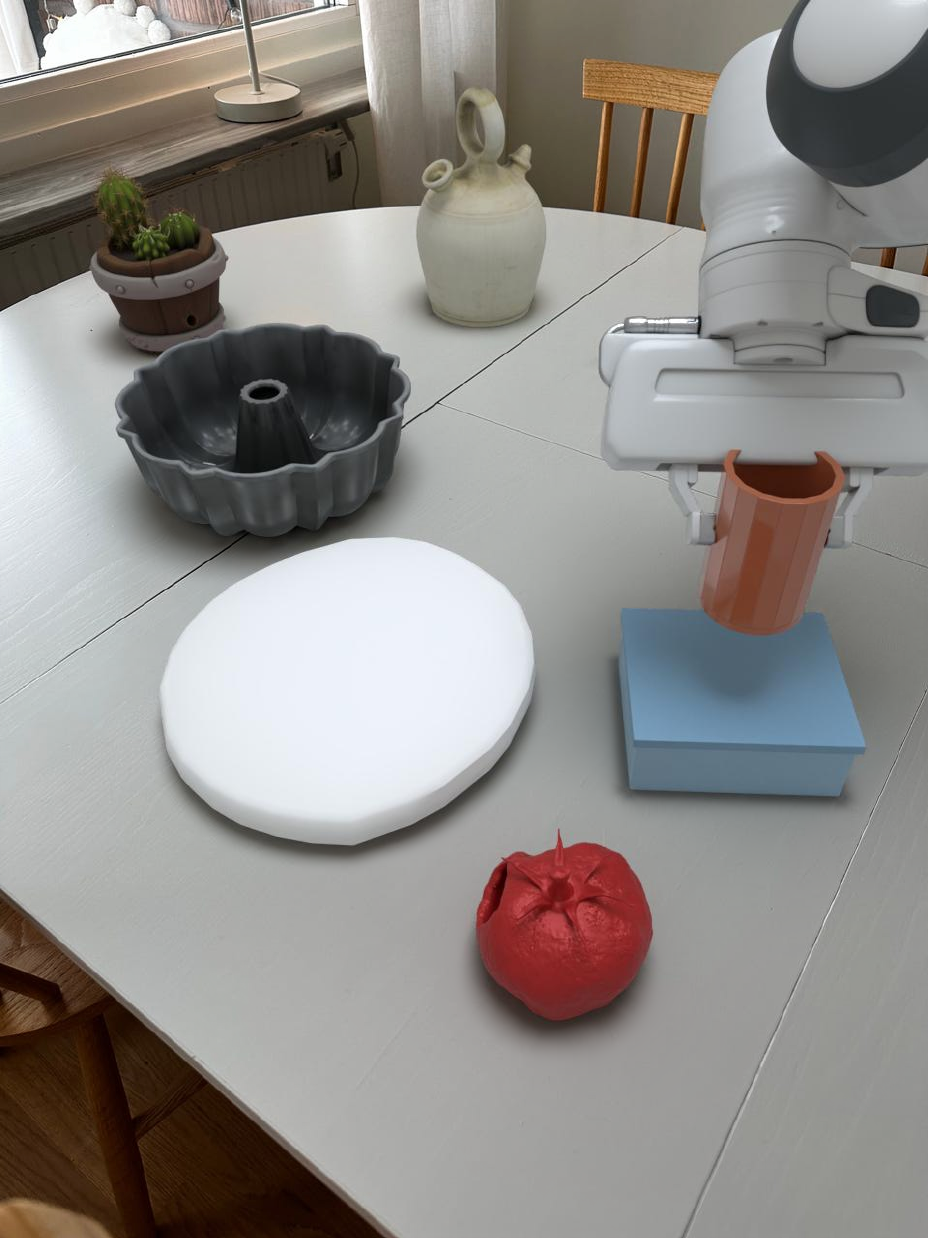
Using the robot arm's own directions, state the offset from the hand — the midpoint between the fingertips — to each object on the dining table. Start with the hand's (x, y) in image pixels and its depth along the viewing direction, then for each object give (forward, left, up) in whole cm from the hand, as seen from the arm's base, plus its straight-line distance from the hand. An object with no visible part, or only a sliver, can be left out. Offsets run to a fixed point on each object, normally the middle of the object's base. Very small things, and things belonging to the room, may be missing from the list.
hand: (768, 546), depth 59 cm
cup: (0, -1, -5) cm, 5 cm away
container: (0, -1, -17) cm, 17 cm away
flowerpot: (+56, -60, -18) cm, 84 cm away
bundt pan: (+38, -31, -18) cm, 52 cm away
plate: (+27, -3, -18) cm, 32 cm away
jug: (+20, -69, -18) cm, 73 cm away
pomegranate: (+12, +17, -18) cm, 28 cm away
